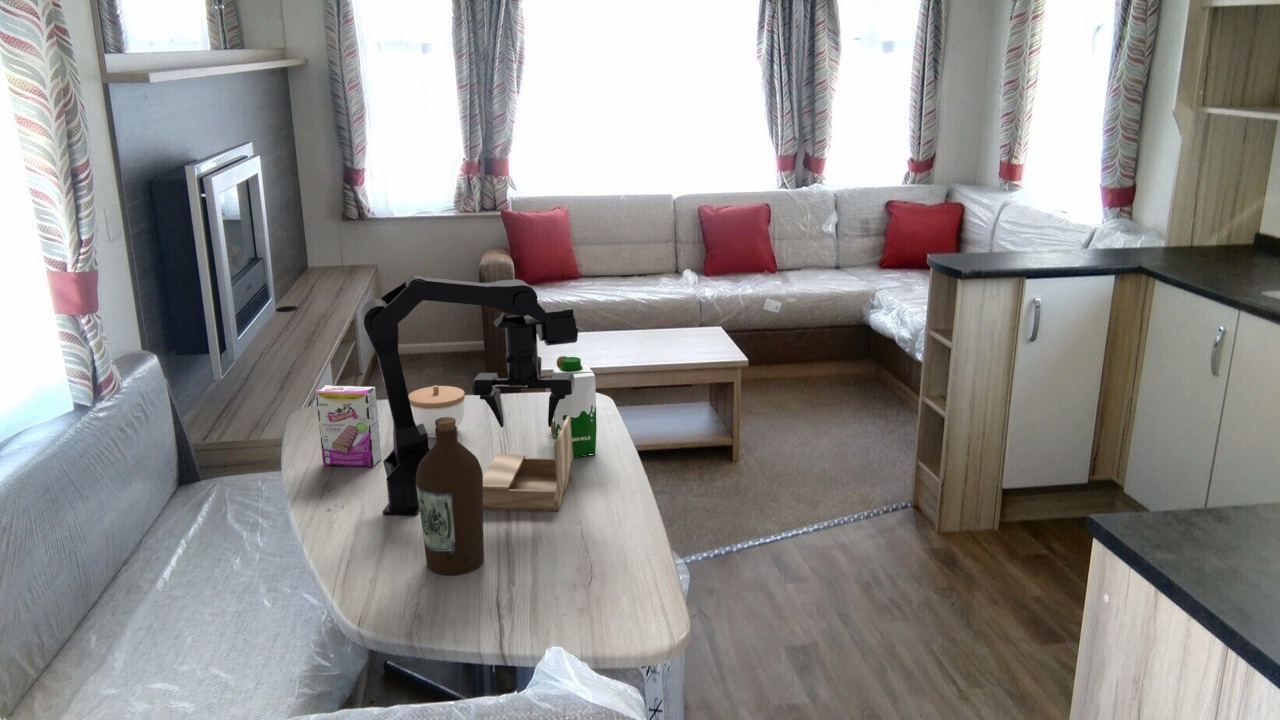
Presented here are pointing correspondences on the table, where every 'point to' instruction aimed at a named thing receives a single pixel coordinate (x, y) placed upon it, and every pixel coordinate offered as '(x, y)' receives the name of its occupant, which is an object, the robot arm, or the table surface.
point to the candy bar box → (349, 425)
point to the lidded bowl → (437, 406)
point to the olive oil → (451, 503)
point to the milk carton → (578, 407)
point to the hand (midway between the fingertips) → (526, 426)
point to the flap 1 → (502, 471)
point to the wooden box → (529, 489)
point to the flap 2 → (563, 453)
